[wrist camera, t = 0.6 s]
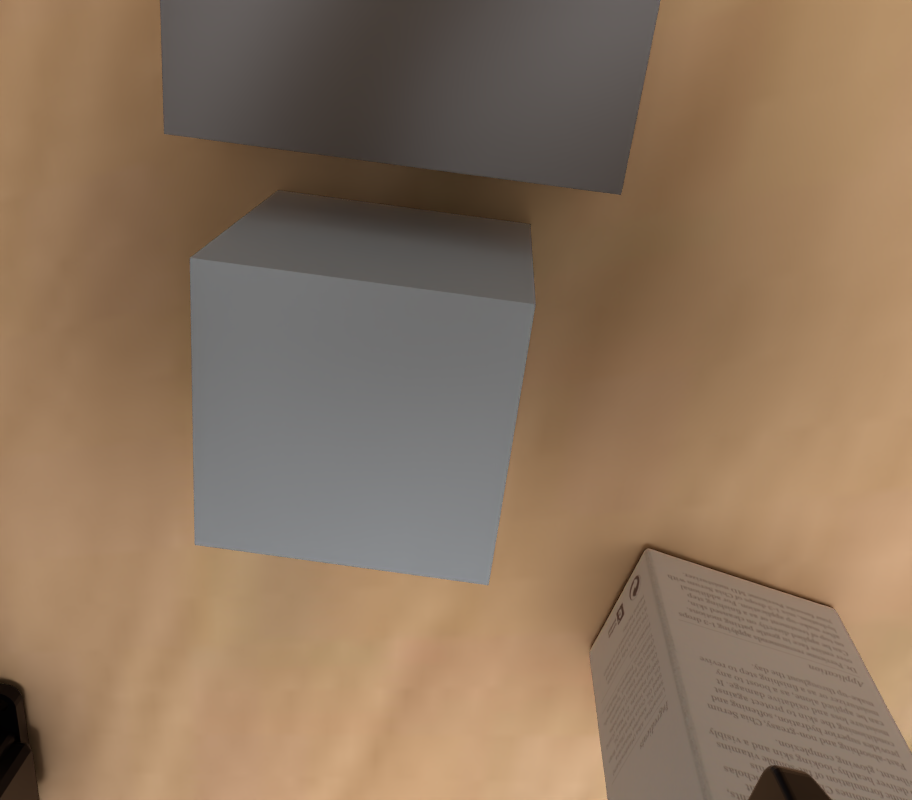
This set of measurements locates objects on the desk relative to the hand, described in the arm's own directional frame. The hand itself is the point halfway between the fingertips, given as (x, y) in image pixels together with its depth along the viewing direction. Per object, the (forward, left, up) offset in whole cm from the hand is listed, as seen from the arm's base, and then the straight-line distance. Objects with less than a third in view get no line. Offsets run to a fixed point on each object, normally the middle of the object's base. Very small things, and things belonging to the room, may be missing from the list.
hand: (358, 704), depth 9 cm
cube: (-1, -1, -13) cm, 13 cm away
